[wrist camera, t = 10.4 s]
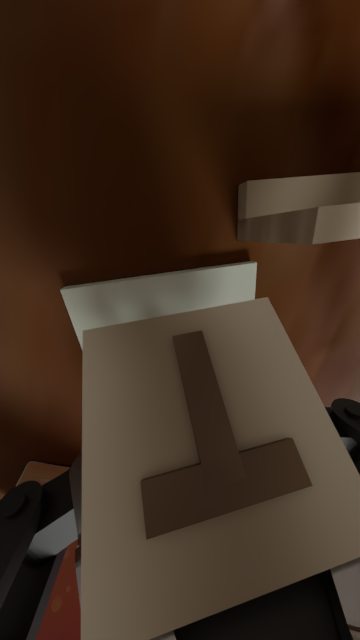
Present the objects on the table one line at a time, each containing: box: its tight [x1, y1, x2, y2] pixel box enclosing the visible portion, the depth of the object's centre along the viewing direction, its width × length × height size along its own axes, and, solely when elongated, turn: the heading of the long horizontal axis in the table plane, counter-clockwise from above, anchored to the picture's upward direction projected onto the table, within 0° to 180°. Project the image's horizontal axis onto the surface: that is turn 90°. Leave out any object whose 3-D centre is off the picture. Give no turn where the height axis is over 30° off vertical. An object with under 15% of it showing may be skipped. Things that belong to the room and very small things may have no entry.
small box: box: [15, 461, 81, 640], centre depth 14 cm, size 8×6×10 cm
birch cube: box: [81, 297, 360, 640], centre depth 7 cm, size 6×6×6 cm
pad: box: [60, 261, 257, 351], centre depth 14 cm, size 12×11×1 cm
